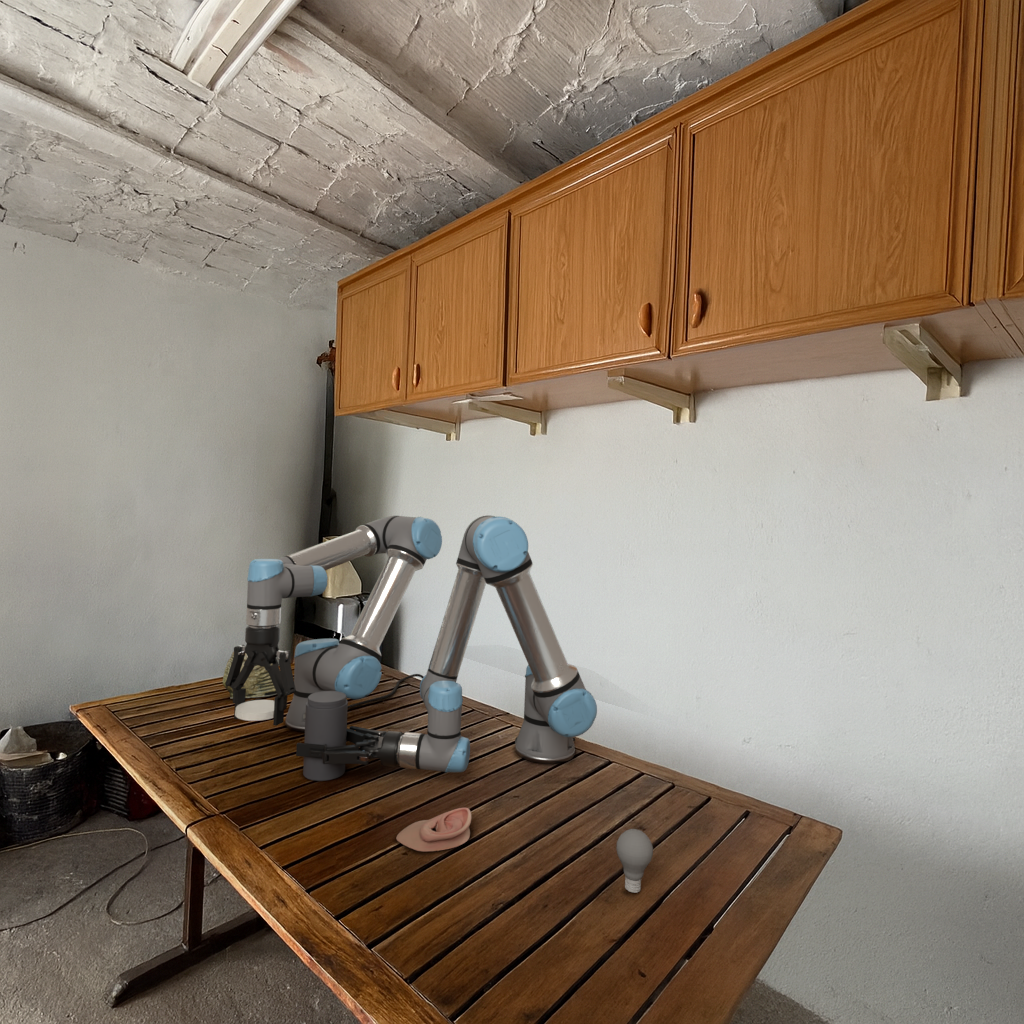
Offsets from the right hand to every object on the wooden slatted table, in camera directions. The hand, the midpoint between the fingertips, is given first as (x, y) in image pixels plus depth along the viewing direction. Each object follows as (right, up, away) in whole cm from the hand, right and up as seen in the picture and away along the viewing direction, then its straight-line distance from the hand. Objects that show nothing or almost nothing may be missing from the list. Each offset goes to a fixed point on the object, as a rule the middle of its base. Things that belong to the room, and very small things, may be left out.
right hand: (306, 740), depth 146 cm
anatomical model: (+33, -9, -26) cm, 43 cm away
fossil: (-33, -4, +52) cm, 62 cm away
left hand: (-12, +4, +2) cm, 13 cm away
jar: (+4, -7, 0) cm, 8 cm away
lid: (-12, +7, +1) cm, 14 cm away
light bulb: (+68, -11, -41) cm, 79 cm away
